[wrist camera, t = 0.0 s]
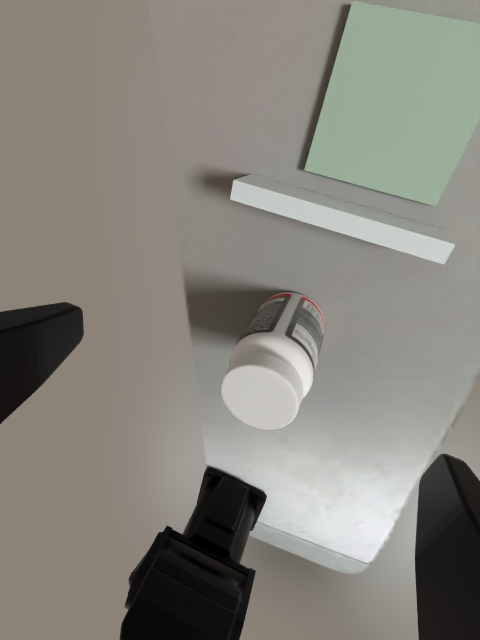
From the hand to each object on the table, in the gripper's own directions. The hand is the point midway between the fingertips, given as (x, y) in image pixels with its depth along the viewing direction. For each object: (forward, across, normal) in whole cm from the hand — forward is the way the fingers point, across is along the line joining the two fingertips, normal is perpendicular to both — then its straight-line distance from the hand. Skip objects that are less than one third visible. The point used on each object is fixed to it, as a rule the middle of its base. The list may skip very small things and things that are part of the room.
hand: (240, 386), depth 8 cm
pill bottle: (+15, 0, +6) cm, 16 cm away
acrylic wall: (+15, 0, -2) cm, 15 cm away
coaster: (+15, -2, -7) cm, 16 cm away
